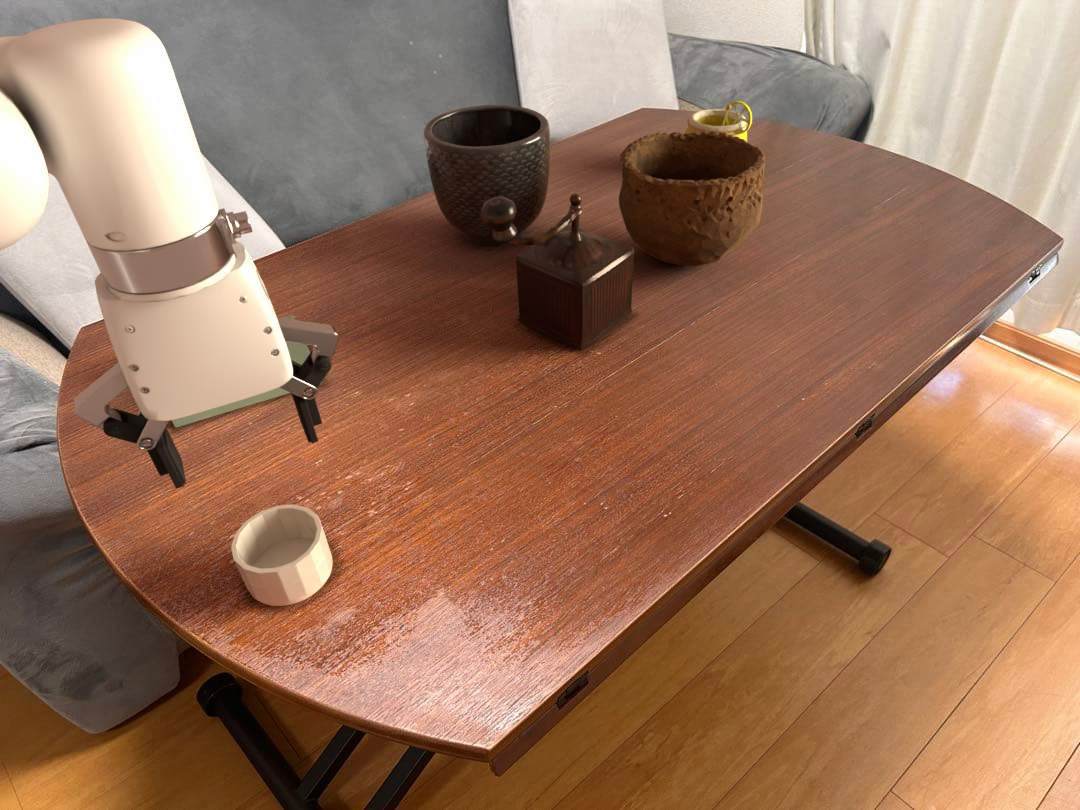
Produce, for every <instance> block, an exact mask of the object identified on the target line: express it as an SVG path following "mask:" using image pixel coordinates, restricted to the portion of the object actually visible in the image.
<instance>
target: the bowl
mask: <svg viewBox="0 0 1080 810" xmlns="http://www.w3.org/2000/svg"><path fill="white" fill-rule="evenodd" d="M619 161H621V163H622V168H621V174H622V183H621V187H620V190H619V195H618V206H619V210H620V213H621V217H622V220H623V223H624V226H625V229H626V231H627V233H628V235H629V236H630V237H631V239H632V241H633V242H634V243H635V244H636V245H637V247H639V249H640V250H642V251H643V252H644V253H645V254H648V255H650V256H652V257H654V258H656V259H657V260H660V261H661V262H664V263H665V264H666V263H667V264H671V265H679V266H686V267H687V266H688V267H690V266H703V265H704V266H705V265H711V264H713V263H716V262H718V261H720V260H722V259H724V258H725V257H726V256H728V255H729V254H731V253H732V252H733V251H735V250H736V249H737V248H738V247H739V246H740V245H741V244H742V243H744V241H745V240H747V238H748V237H749V236H751V234H752V233H753V232H754V230H755V229H756V228H757V227H758V226H759V225H760V222H761V216H762V212H763V205H764V196H763V195H764V194H763V183H764V177H765V176H764V175H765V167H766V156H765V154H764V153H763V152H762V150H761V149H760V148H759V147H758V146H754V145H752V144H750V143H749V142H748V141H747V142H746V141H745V140H744V139H740V138H739V137H734V136H733V134H732V135H727V134H726V133H725V132H724V133H718V132H709V131H702V132H701V133H687V134H685V133H682V132H679V131H676V132H671V133H666V132H662V133H660V132H655V133H649V134H646V135H643V136H642V137H638V138H636V140H633V142H630V143H628V144H627V146H626V147H625V148H624V149H623V150H622V152H621V153H620V156H619Z"/></svg>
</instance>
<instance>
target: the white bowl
mask: <svg viewBox="0 0 1080 810" xmlns="http://www.w3.org/2000/svg"><path fill="white" fill-rule="evenodd" d="M230 550H231V555H232V560H233V561H234V564H235V566H236V569H237V570H238V574H239V575H240V577H241V580H242V582H243V583H244V586H245V587H246V590H247V591H248V592H249V594H250V595H251V596H252V598H253V599H255V600H256V601H258V602H260V603H261V604H264V605H267V606H272V607H285V606H291V605H294V604H295V605H296V604H298V603H301V602H302V601H305V600H307V599H308V598H311V597H312V596H313V595H314V594H316V593H317V592H318V591H319V590H321V589H322V587H323V586H324V585H325V584H326V582H327V581H328V580H329V578H330V575H331V574H332V570H333V564H334V562H333V555H332V552H331V549H330V546H329V543H328V540H327V537H326V533H325V531H324V528H323V525H322V522H321V520H320V516H319V515H318V514H317V513H315V512H314V511H312V509H310V508H309V507H307V506H302V505H298V504H294V503H293V504H291V503H290V504H280V505H279V504H278V505H275V506H272V507H269V508H266V509H263V510H260V511H258V512H257V513H256V514H254V515H252V516H251V517H249V518H248V519H246V520H245V521H244V522H243V523H242V524H241V526H240V527H239V528H238V529H237V531H236V532H235V533H234V536H233V539H232V542H231V545H230Z"/></svg>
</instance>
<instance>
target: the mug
mask: <svg viewBox="0 0 1080 810" xmlns="http://www.w3.org/2000/svg"><path fill="white" fill-rule="evenodd" d="M738 105H741V106H743V108H742V110H741V111H740V112H739V107H738ZM732 106H733V108H734V110H731V109H732ZM746 111H747V114H748V119H747V117H745V116H744V113H745V112H746ZM686 122H687V127H686V129H685V130H684V134H687V133H701V132H702V131H709V132H718V133H724V132H725V133H726V134H727V135H732V134H733V136H734V137H739V138H740V139H744V140H745V141H746V142H748V131H749V130H750V128H751V126H752V124H753V112H752V111H751V108H750V106H749V105H748V103H746V102H744V101H741V100H735V101H732V102H730V103H728V104H727V105H726V108H707V109H703V110H699V111H696V112H694V113H692V115H690V116H689V117H688V118H687V121H686Z"/></svg>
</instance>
